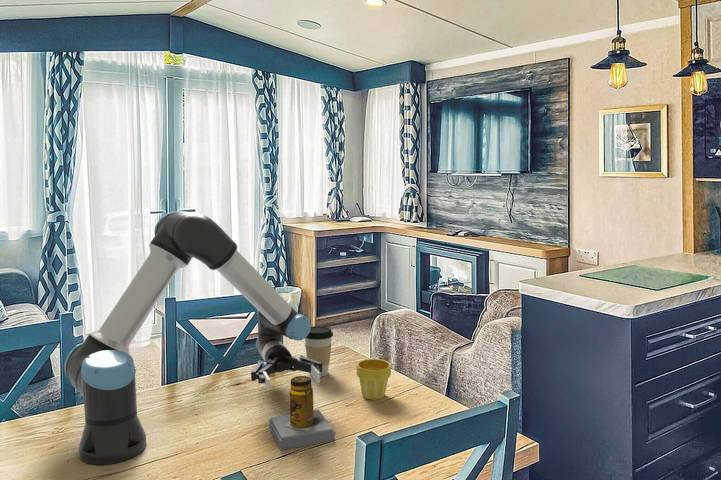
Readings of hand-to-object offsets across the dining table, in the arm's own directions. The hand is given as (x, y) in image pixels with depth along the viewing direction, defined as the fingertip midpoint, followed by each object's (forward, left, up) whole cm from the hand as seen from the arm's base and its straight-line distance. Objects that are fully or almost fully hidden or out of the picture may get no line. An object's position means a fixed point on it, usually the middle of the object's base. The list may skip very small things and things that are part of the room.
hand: (294, 381), depth 156 cm
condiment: (+1, -7, -9) cm, 11 cm away
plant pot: (+27, +9, -12) cm, 31 cm away
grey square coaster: (0, -7, -12) cm, 14 cm away
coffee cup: (+17, +33, -12) cm, 39 cm away
